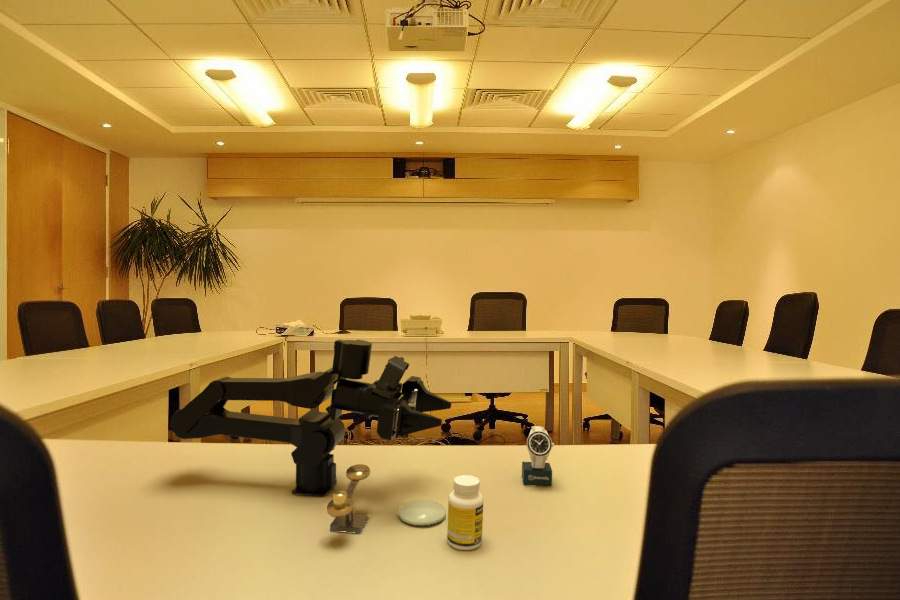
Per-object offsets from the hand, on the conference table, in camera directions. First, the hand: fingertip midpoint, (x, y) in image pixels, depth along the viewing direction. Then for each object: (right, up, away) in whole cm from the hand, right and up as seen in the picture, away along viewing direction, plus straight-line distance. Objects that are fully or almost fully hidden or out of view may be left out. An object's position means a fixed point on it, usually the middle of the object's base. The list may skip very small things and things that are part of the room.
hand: (446, 413), depth 91 cm
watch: (+18, -16, +10) cm, 26 cm away
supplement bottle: (+3, -17, -13) cm, 22 cm away
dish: (-4, -16, -5) cm, 18 cm away
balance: (-16, -16, -9) cm, 24 cm away
